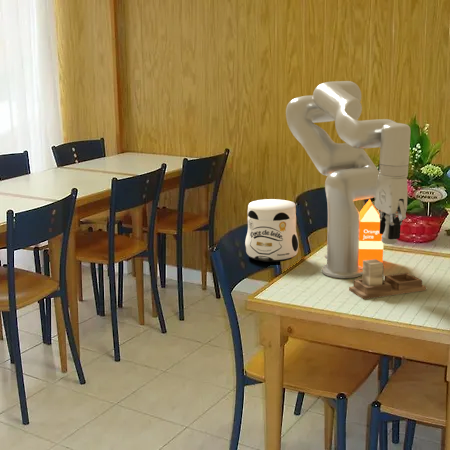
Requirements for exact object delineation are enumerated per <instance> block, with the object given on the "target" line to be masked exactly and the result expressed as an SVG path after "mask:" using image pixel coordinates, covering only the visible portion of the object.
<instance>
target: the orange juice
mask: <svg viewBox="0 0 450 450" xmlns="http://www.w3.org/2000/svg"><path fill="white" fill-rule="evenodd" d="M367 200H368V201H366V203H365V205H363V207H362V208H361V209H360V211H358V212H359V215H360V236H359V266H361V267H362V268H363V261H364V260H372V259H377V260H378V261H380V262H382V263H383V264H384V261H383V260H384V259H383V258H384V256H383V255H384V244H385V243H383V242H382V241H381V239H382V237H381V236H382V234H380V233H379V232H380V218H379V216H380V213H379V210H378V209H377V208H376V207H375V204H373V202H372V200H371V198H370V199H367Z"/></svg>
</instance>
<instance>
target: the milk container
mask: <svg viewBox="0 0 450 450" xmlns="http://www.w3.org/2000/svg"><path fill="white" fill-rule="evenodd" d="M296 213H297V208H296V203H295V202H294V201H290V200H285V199H279V198H276V199H275V198H269V199H267V198H264V199H257V200H253V201H251V202H249V203H248V205H247V233H246V236H245V240H244V241H245V242H244V246H245V252H246V254H247V256H248V257H249V258H250V259H252V260H255V261H258V262H264V263H265V262H267V263H280V262H286V261H289V260H292V259H293V258H294V257H296V256H297V254H298V252H299V244H300V242H299V236H298V233H297V215H296Z"/></svg>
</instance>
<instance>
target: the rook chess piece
mask: <svg viewBox="0 0 450 450" xmlns="http://www.w3.org/2000/svg"><path fill="white" fill-rule="evenodd" d="M396 217H397V216H394V219H395V218H396ZM385 219H386V222H385V223H386V226H385V231H384V232H383V234H382V236H381V237H382V239H381V241H382V242H383V243H384V244H386V245H394V244H396V243H398V239H388V234H389V225H391V222H390V215H388V214H386V216H385Z"/></svg>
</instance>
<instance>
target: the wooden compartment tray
mask: <svg viewBox="0 0 450 450" xmlns="http://www.w3.org/2000/svg"><path fill="white" fill-rule="evenodd" d="M361 276H362V278H358V279H353V286H349V287H348V291H350V292H351V293H353V294H354V295H356V296H357V297H359V298H360V299H362V300H369V299H375V298H381V297H382V298H384V297H389V296H394V295H402V294H409V293H415V292H417V293H418V292H423V291H427V286H426V285H424V284H423V280H422V279H420V278H418V277H417V276H415V275H414V274H413V275H412V274H411V273H409V272H402V273H396V274H387V275H384V262H383V263H382V262H380V261H378V260H377V259H372V260H364V261H363V274H362V275H361Z"/></svg>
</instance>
